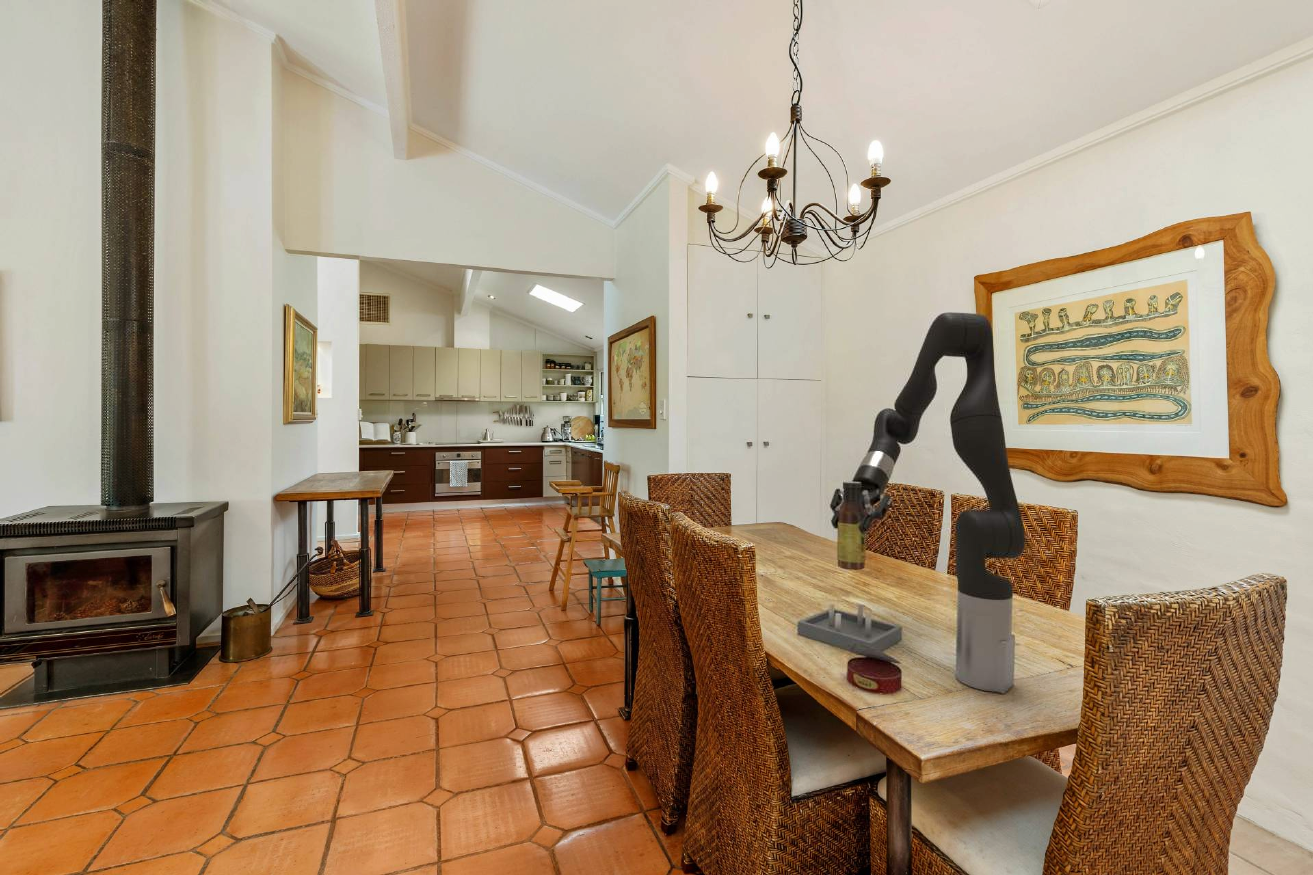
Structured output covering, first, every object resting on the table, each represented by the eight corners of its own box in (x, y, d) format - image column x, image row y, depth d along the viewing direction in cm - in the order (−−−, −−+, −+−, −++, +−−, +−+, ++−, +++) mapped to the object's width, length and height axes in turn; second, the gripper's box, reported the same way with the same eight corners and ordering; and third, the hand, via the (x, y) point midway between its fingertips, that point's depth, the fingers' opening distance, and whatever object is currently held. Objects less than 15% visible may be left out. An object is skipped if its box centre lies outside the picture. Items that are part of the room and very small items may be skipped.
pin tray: (901, 639, 133) (902, 611, 133) (870, 657, 123) (870, 627, 123) (831, 619, 146) (831, 594, 146) (797, 633, 136) (798, 606, 136)
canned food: (844, 701, 113) (829, 648, 117) (890, 691, 115) (873, 639, 119) (872, 699, 103) (854, 640, 107) (921, 688, 105) (902, 631, 109)
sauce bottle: (867, 571, 130) (869, 484, 130) (838, 570, 132) (840, 483, 131) (862, 564, 137) (864, 481, 136) (835, 563, 138) (837, 480, 137)
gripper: (841, 462, 144) (814, 514, 136) (898, 465, 133) (872, 522, 126) (851, 481, 148) (825, 534, 140) (907, 486, 137) (883, 543, 129)
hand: (848, 528), depth 133 cm, fingers closed on sauce bottle, 6 cm apart
